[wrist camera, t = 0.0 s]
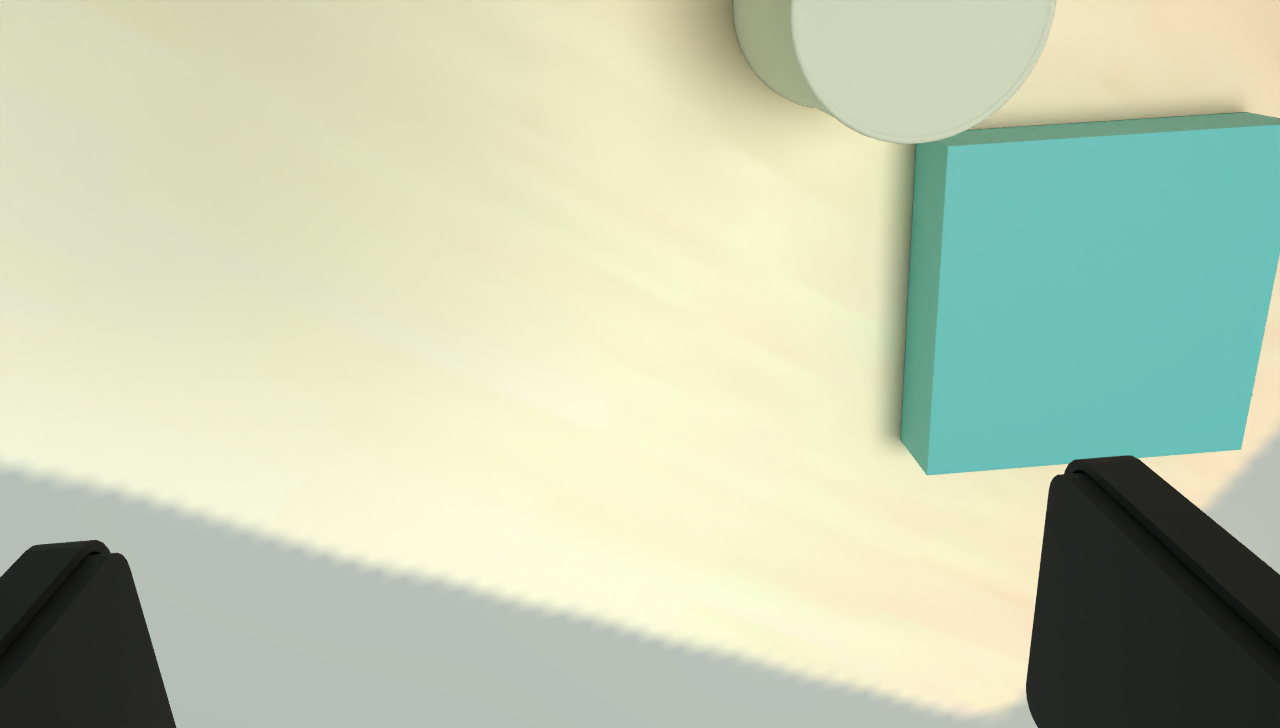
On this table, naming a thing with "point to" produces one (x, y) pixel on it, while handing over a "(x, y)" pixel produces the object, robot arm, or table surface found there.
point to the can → (895, 59)
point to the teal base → (1088, 289)
